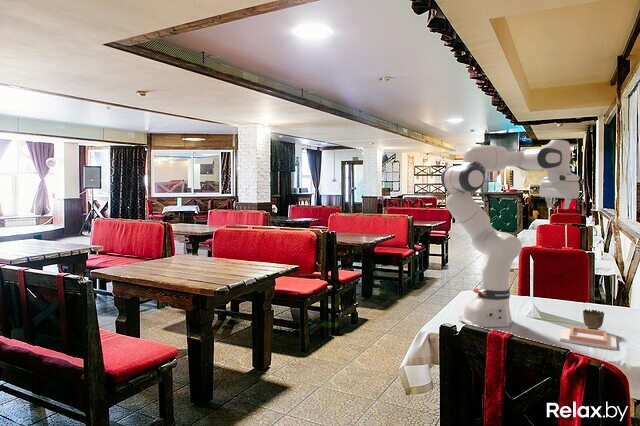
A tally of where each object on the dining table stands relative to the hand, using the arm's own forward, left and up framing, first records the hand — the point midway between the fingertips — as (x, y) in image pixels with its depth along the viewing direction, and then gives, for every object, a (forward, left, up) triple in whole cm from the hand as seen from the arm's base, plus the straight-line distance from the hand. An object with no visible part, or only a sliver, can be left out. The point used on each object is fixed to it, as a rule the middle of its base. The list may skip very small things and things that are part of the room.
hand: (557, 208), depth 203 cm
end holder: (-11, -30, -48) cm, 58 cm away
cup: (-2, -23, -48) cm, 53 cm away
